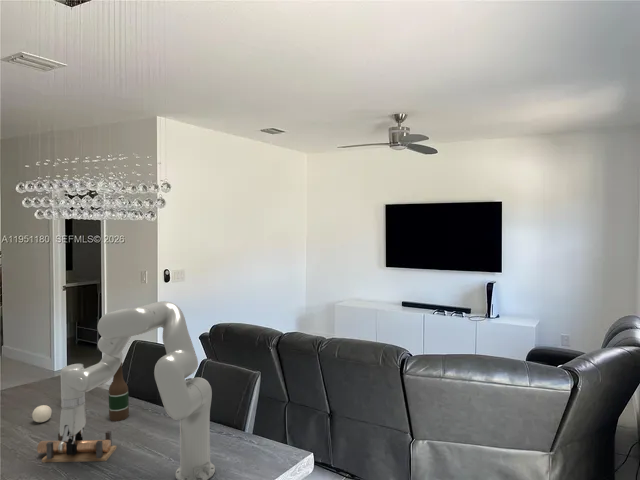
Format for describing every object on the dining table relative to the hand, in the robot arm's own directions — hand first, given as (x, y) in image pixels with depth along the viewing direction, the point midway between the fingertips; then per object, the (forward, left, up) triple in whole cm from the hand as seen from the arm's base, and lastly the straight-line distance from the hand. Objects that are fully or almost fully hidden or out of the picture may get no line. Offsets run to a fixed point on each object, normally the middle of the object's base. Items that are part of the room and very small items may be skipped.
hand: (74, 450), depth 165 cm
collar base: (-1, -1, -2) cm, 3 cm away
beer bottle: (+22, -22, -2) cm, 31 cm away
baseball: (+40, +3, -2) cm, 40 cm away
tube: (0, 0, 0) cm, 0 cm away
